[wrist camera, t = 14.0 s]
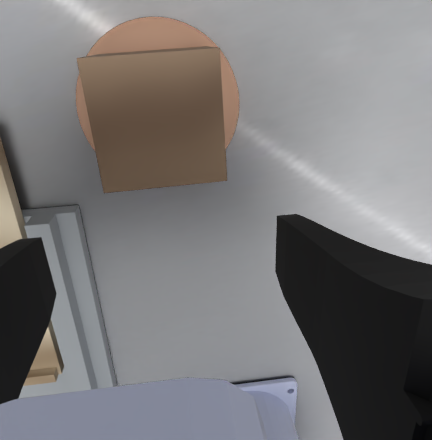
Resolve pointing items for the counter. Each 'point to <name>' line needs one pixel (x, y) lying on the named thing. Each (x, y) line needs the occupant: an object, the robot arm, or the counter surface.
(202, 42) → the coaster
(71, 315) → the lane board
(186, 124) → the walnut block
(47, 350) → the multicoloured piece
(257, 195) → the counter surface
